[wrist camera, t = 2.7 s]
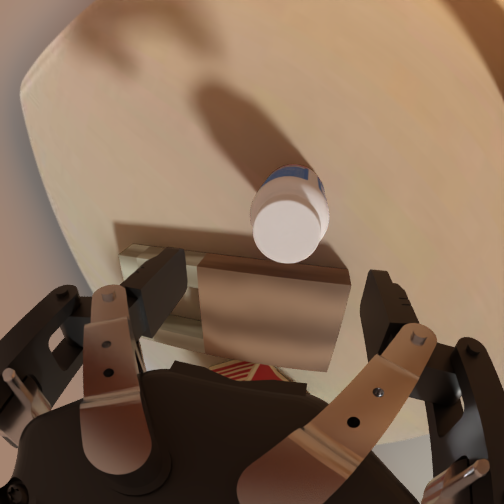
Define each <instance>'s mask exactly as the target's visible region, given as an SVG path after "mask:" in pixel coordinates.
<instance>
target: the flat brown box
mask: <svg viewBox="0 0 504 504" xmlns="http://www.w3.org/2000/svg"><path fill="white" fill-rule="evenodd" d="M164 249H165V248H162V247H154V246H146V245H138V244H132V245H131V246H129V247H128V248H127V249H125V250H124V251H123V252H121V253H120V254H119V260H120V265H121V270H122V275H123V279H124V281H125V280H126V279H127V278H128V277H129V276H130V275H131V274H132V273H133V272H135V271H136V270H137V269H138V268H140V266H141V265H142V264H143V263H144V262H145V261H147V260H149V259H151V258H153V257H155V256H157V255H159V254H160V253H161V252H162V251H163V250H164ZM184 252H185V258H186V269H187V279H188V284H187V287H193V288H198V290H199V301H200V312H201V321H199V320H193V319H189V318H184V317H179V316H174V315H170V314H169V316H168V317H167V319H166V320H165V321H164V323H163V324H162V326H161V327H160V328H159V330H158V331H157V333H156V334H155V336H154V337H153V338H152V339H151V338H148V337H144V336H141V338H145V339H148V340H152V341H156V342H159V343H163V344H167V345H171V346H175V347H179V348H183V349H187V350H191V351H196V352H200V353H204V354H209V355H214V356H219V357H224V358H229V359H234V360H240V361H245V362H251V363H257V364H264V365H270V366H277V367H285V368H292V369H301V370H310V371H320V372H327V370H328V367H329V364H330V361H331V357H332V354H333V351H334V348H335V344H336V341H337V338H338V334H339V331H340V327H341V324H342V320H343V316H344V312H345V309H346V305H347V301H348V297H349V293H350V289H351V282H350V276H349V271H348V269H339V268H330V267H321V266H313V265H304V264H295V263H280V262H276V261H270V260H261V259H253V258H244V257H236V256H228V255H219V254H211V253H203V252H194V251H186V250H184Z"/></svg>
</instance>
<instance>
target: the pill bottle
mask: <svg viewBox="0 0 504 504" xmlns="http://www.w3.org/2000/svg"><path fill="white" fill-rule="evenodd" d="M250 221H251V225H252V228H253V237H254V241H255V243H256V245H257V247H258V248H259V250H260V251H261V252H262V253H263V254H264V255H265V256H266V257H268V258H270V259H272V260H274V261H276V262H280V263H296V262H299V261H302V260H304V259H306V258H307V257H309V256H310V255H311V254H312V253H313V252H314V251H315V249H316V248H317V246H318V244H319V241H320V240H321V239H322V238H323V236H324V234H325V233H326V230H327V228H328V224H329V208H328V203H327V199H326V195H325V191H324V187H323V184H322V182H321V180H320V179H319V177H318V176H317V175H316V174H315V173H314V172H313V171H312V170H311V169H309V168H307V167H305V166H302V165H296V164H290V165H285V166H282V167H280V168H278V169H277V170H275V171H274V172H273V173H272V174H271V175H270V176H269V177H268V178H267V180H266V181H265V182H264V184H263V185H262V186H261V188H260V189H259V190H258V192H257V193H256V195H255V197H254V199H253V201H252V204H251V209H250Z"/></svg>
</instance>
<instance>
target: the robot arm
mask: <svg viewBox="0 0 504 504" xmlns="http://www.w3.org/2000/svg"><path fill="white" fill-rule="evenodd" d="M187 284H188V279H187V269H186V258H185V252H184V250H183V249H180V248H171V247H166V248H165V249H164V250H163V251H162V252H161V253H160V254H159V255H157V256H155V257H153V258H151V259H149V260H147V261H145V262H144V263H143V264H142V265H141V266H140V268H138V269H137V270H136V271H135V272H133V273H132V274H131V275H130V276H129V277H128V278H127V279H126V280H125V281H124V282H122V283H121V284H120V285H107V286H104V287H101V288H99V289H98V290H96V291H95V292H94V294H93V296H92V297H80V296H79V293H78V290H77V287H76V286H73V285H63V286H60V287H58V288H56V289H54V290H53V291H52V292H51V293H49V294H48V295H47V296H46V297H45V298H44V299H43V300H42V301H41V302H39V303H38V304H37V305H36V306H35V307H34V308H33V309H32V310H31V311H30V312H29V313H27V314H26V315H25V316H24V317H23V318H22V319H21V320H20V321H19V322H18V323H17V324H16V325H15V326H14V327H13V328H12V329H11V330H10V331H9V332H8V333H7V334H6V335H5V336H4V337H3V338H2V339H1V340H0V435H1V436H2V437H3V438H4V439H5V440H6V441H7V442H9V443H10V444H11V445H12V446H13V447H15V448H18V455H17V460H16V465H15V469H14V472H13V475H12V477H11V479H10V481H9V482H8V483H7V484H6V485H5V486H3V487H2V488H0V504H420V503H419V502H418V501H417V499H416V498H415V497H414V496H413V495H412V494H411V493H410V492H409V490H408V489H407V488H406V487H405V486H404V485H403V484H402V483H401V482H400V481H399V480H398V479H397V478H396V477H395V476H394V475H393V473H392V472H391V471H390V470H389V469H388V468H387V467H386V466H385V465H384V464H383V462H382V461H381V460H380V459H379V458H378V457H377V456H376V455H375V454H374V452H373V451H372V448H373V447H374V446H375V445H376V443H377V442H378V441H379V439H380V438H381V437H382V435H383V434H384V433H385V431H386V430H387V428H388V427H389V426H390V424H391V423H392V421H393V420H394V418H395V417H396V415H397V414H398V412H399V411H400V409H401V408H402V406H403V405H404V403H405V402H406V400H407V398H408V397H411V398H415V399H419V400H423V401H425V406H426V412H427V419H428V426H429V433H430V442H431V451H432V463H433V479H432V480H431V481H430V482H429V483H428V484H427V486H426V488H425V491H424V495H423V499H422V501H421V504H504V390H503V388H502V385H501V383H500V380H499V378H498V375H497V373H496V370H495V368H494V366H493V363H492V361H491V359H490V357H489V355H488V352H487V350H486V348H485V347H484V346H483V345H482V344H481V343H480V342H479V341H477V340H475V339H473V338H470V337H464V338H461V339H459V341H458V342H457V344H456V346H455V347H451V346H447V345H444V344H440V343H437V338H436V335H435V334H434V332H433V331H432V330H431V329H429V328H428V327H426V326H424V325H422V324H419V321H418V319H417V317H416V314H415V312H414V310H413V308H412V306H411V303H410V301H409V300H408V297H407V295H406V292H405V290H403V289H402V288H401V287H400V286H399V285H398V284H396V283H392V280H391V278H390V276H389V274H388V272H387V271H381V270H370V271H369V273H368V276H367V280H366V284H365V288H364V292H363V296H362V300H361V305H360V317H361V323H362V328H363V334H364V339H365V345H366V351H367V358H368V364H367V365H366V366H365V367H364V368H363V369H362V371H361V372H360V373H359V374H358V375H357V376H356V377H355V378H354V379H353V380H352V381H351V382H350V384H349V385H348V386H347V387H346V388H345V389H344V390H343V391H342V392H341V393H340V394H339V395H338V396H337V397H336V398H335V399H334V400H333V401H332V402H331V403H330V404H328V403H327V402H325V401H323V400H321V399H320V398H317V397H315V396H313V395H310V394H307V393H306V388H307V383H298V382H289V381H281V380H251V381H236V380H233V379H230V378H228V377H225V376H223V375H221V374H218V373H216V372H214V371H212V370H209V369H207V368H205V367H201V366H196V365H192V364H188V363H183V362H179V361H174V363H173V365H172V366H171V368H170V369H158V370H151V371H146V367H145V363H144V359H143V354H142V350H141V345H140V342H139V338H140V337H141V336H144V337H148V338H151V339H152V338H153V337H154V336H155V334H156V333H157V331H158V330H159V328H160V327H161V326H162V324H163V323H164V321H165V320H166V319H167V317H168V316H169V314H170V313H171V312H172V310H173V309H174V307H175V306H176V305H177V303H178V302H179V300H180V299H181V298H182V296H183V295H184V293H185V292H186V289H187ZM59 327H60V328H61V330H62V332H63V335H64V337H65V338H64V339H63V340H62V341H61V343H59V345H58V346H57V347H56V348H55V349H54V350H53V352H52V353H51V351H50V349H49V346H48V342H49V339H50V337H51V335H52V334H53V333H54V332H55V331H56V330H57V329H58V328H59ZM82 364H83V390H84V391H83V392H84V398H82V399H80V400H77V401H75V402H72V403H70V404H67V405H65V406H62V407H60V408H57V409H54V410H51V408H52V407H53V405H54V404H55V402H56V401H57V400H58V398H59V397H60V395H61V394H62V392H63V391H64V389H65V388H66V387H67V385H68V384H69V382H70V381H71V379H72V378H73V377H74V375H75V374H76V373H77V371H78V370H79V368H80V367H81V366H82ZM461 396H462V398H463V401H464V412H463V408H462V404H461V400H460V397H461Z"/></svg>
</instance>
